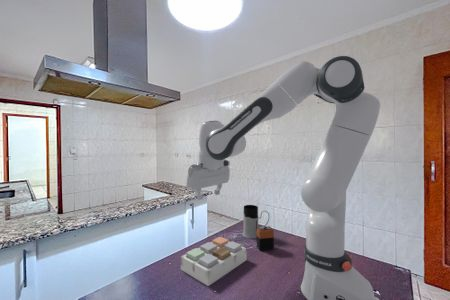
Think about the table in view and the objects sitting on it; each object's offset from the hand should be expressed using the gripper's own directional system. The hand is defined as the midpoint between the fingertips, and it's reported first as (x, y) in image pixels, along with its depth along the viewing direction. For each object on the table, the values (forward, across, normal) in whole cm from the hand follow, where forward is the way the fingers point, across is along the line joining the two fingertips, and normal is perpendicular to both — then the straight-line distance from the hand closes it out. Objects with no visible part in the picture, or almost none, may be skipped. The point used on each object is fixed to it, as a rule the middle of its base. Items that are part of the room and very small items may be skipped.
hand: (208, 196), depth 86 cm
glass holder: (+28, +34, -1) cm, 44 cm away
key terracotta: (+24, +7, -1) cm, 25 cm away
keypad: (+27, 0, -4) cm, 27 cm away
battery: (+27, +25, -12) cm, 39 cm away
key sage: (+23, -7, -1) cm, 24 cm away
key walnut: (+23, 0, -8) cm, 24 cm away
